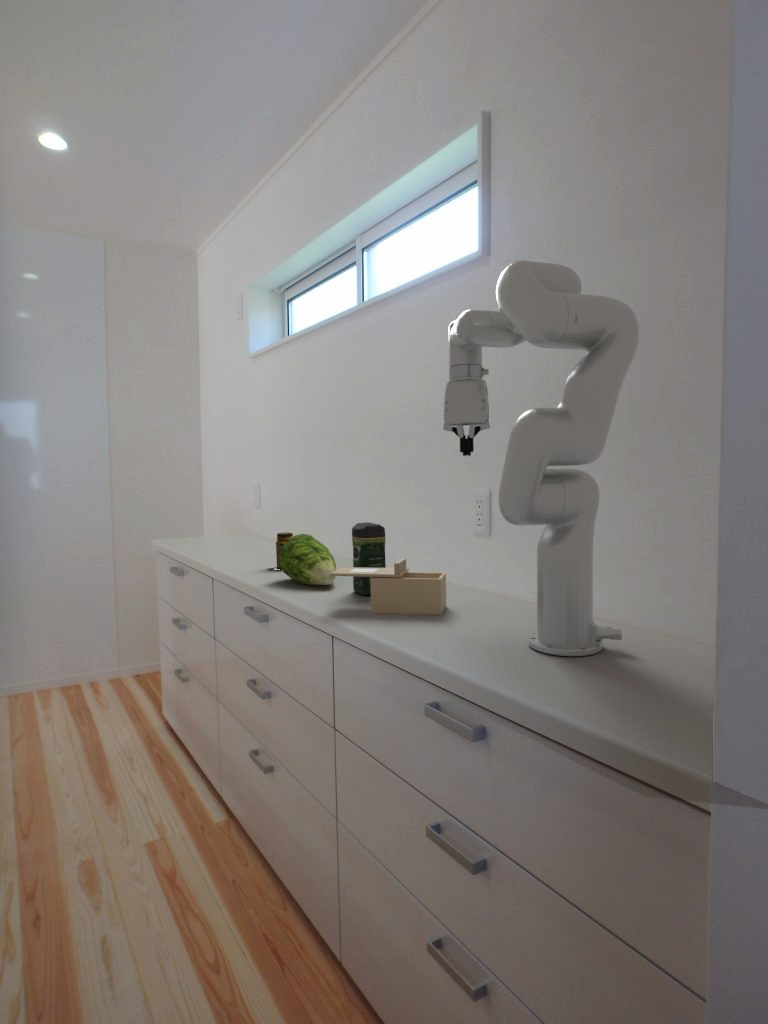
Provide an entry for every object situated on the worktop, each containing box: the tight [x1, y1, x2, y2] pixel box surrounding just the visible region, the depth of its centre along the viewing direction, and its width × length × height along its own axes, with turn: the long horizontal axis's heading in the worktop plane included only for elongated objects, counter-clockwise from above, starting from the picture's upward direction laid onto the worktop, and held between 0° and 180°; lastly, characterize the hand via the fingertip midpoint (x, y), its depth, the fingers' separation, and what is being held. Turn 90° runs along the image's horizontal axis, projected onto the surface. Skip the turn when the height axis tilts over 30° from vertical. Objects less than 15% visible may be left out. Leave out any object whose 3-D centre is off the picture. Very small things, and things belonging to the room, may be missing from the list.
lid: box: [331, 557, 410, 577], centre depth 137 cm, size 16×9×3 cm, turn 76°
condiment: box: [267, 532, 294, 572], centre depth 196 cm, size 7×8×12 cm
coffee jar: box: [351, 522, 387, 596], centre depth 155 cm, size 10×8×19 cm
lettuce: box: [279, 533, 337, 586], centre depth 170 cm, size 14×23×13 cm, turn 31°
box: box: [370, 571, 447, 616], centre depth 135 cm, size 16×8×8 cm, turn 76°
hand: (466, 455), depth 136 cm, fingers closed
